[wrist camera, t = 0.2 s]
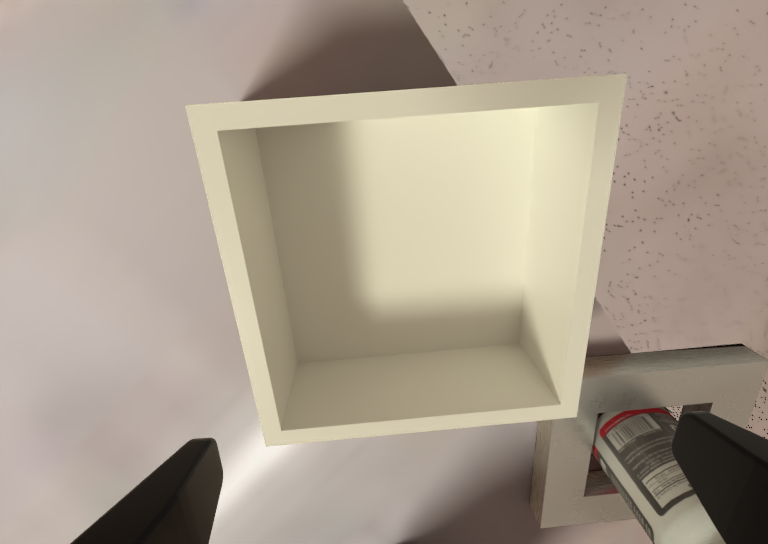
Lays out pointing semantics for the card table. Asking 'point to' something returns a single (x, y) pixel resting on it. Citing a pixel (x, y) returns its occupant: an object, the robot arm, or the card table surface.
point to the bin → (412, 250)
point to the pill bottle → (651, 476)
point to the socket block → (632, 392)
